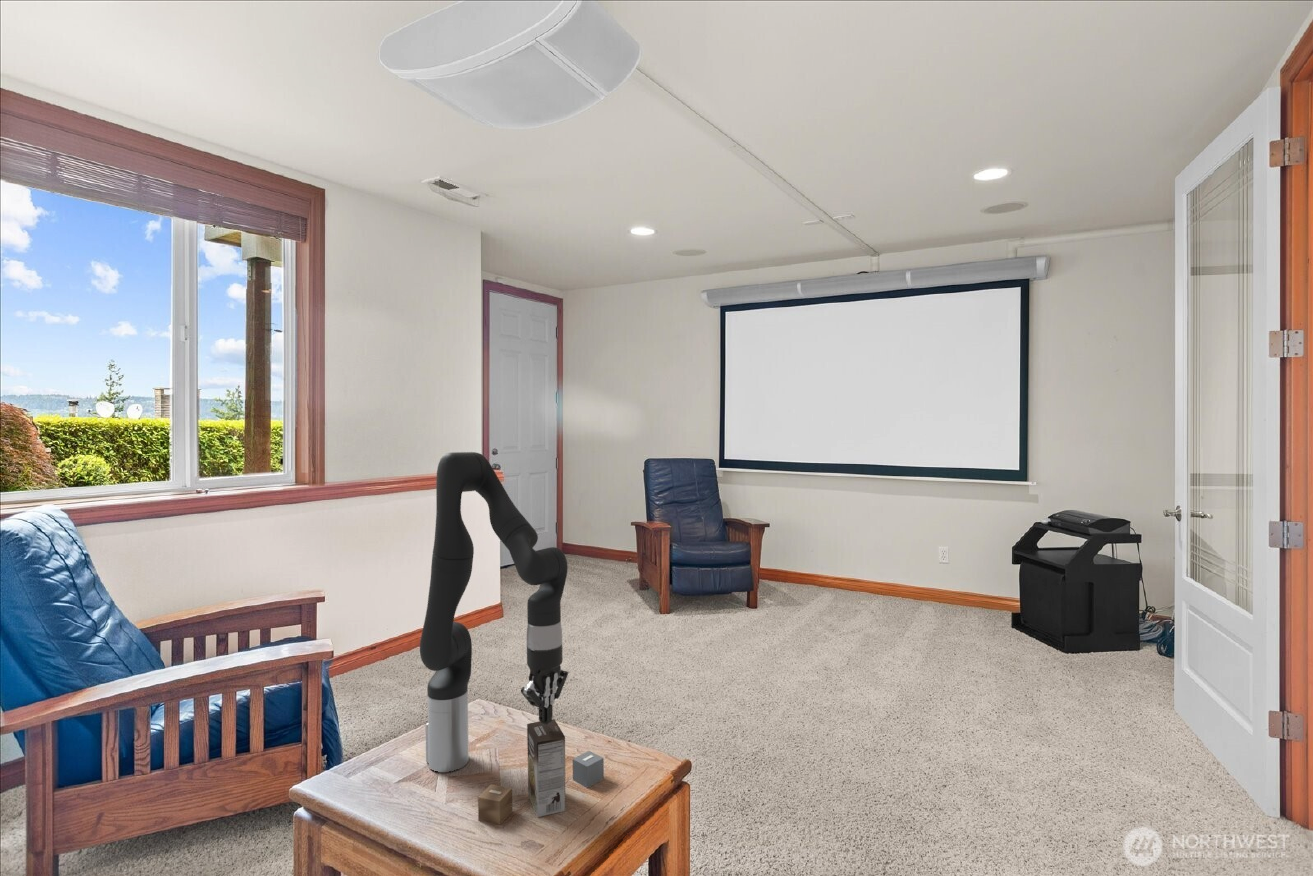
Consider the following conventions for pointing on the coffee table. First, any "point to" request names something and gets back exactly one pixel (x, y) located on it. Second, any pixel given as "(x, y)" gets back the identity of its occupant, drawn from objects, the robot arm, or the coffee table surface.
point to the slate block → (588, 769)
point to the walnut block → (495, 804)
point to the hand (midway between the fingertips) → (545, 722)
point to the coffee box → (546, 767)
